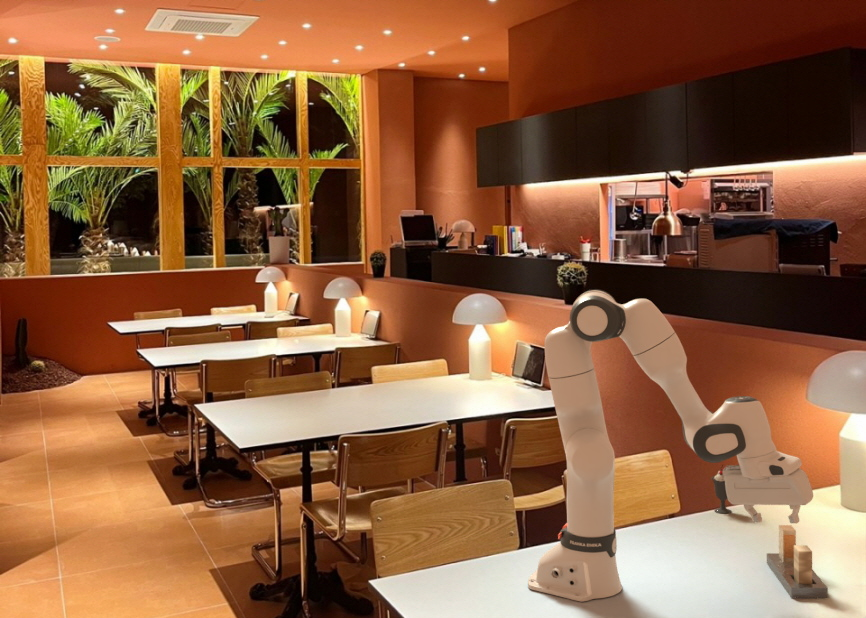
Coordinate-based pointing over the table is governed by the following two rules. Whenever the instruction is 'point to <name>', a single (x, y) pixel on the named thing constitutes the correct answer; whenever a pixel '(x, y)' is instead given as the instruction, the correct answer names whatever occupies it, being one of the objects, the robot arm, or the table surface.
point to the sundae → (720, 491)
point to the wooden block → (802, 564)
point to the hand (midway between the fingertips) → (776, 522)
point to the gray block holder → (785, 568)
